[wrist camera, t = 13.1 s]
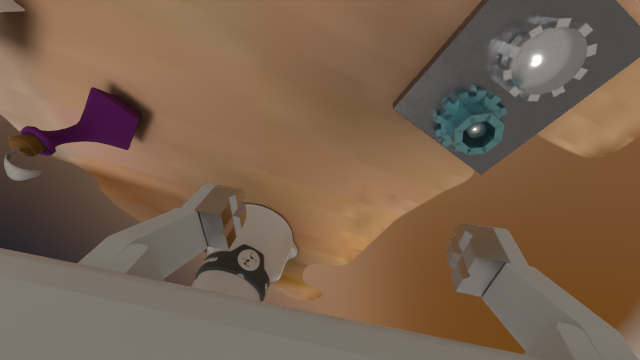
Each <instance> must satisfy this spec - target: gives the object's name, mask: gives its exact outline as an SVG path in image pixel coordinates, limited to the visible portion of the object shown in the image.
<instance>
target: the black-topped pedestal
mask: <svg viewBox="0 0 640 360" xmlns="http://www.w3.org/2000/svg"><path fill="white" fill-rule="evenodd" d="M18 11H25V9H23V8H22V7H21V6H20V5H18V4H17V3H16V2H14V1H13V0H0V12H18Z"/></svg>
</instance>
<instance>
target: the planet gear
mask: <svg viewBox="0 0 640 360" xmlns="http://www.w3.org/2000/svg"><path fill="white" fill-rule="evenodd" d="M486 92H487V91H486V90H485V89H484V88H482V87H474V90H473V92H472V93H467V91H466V90H465V89H464V88H463V89H461V90H458V91H456V94H457V95H456V96H455V97H454V98H453V99H452V100H451V101H450V100H449V99H448V98H447V97H446V98H445V99H444V100H443V101H442V102H441V104H442V106H443V107H444V108H443V109H442V110H441V111H440V112H435V115H434V121H435V123H439V125H436V126H433V128H434V131H435V134H436V136H437V137H439V136H441V138H440V141H441V144H443V145H444V146H445V147H446V148H447V147H448V146H449V145H450V144H452V147H453V149H454V150H455V151H460V152H463V153H465V154H466V155H472V154H484V153H487V152H488V151H489V150H491V149H492V148H493V147H495V146H496V145H497V144H498V143H500V142H501V141H502V136H503V131H504V125H505V123H504V122H503V121H502V120H501V119H500V116H503V115H506V114H507V111H506V107H505V106H504V105H503V104H501V103H500V104H497V103H498V102H499V101H501V99H500V98H499V97H498V96H497V95H496V94H494V93H493V92H492V91H491V92H490V93H489V94H488V95H487V96H486ZM473 122H482V123H483V124H484V125H485V127H486V131H485V133H484V134H483V135H482V136H480V137H478V138H472V137H470V136H469V135H468V133H467V132H466V130H465V129H466V128H468V127H469V126H470V125H471V124H472V123H473Z"/></svg>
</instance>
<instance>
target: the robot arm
mask: <svg viewBox="0 0 640 360" xmlns="http://www.w3.org/2000/svg"><path fill="white" fill-rule="evenodd" d="M244 198H245V196H244V191H243V190H242V189H237V188H232V187H226V186H220V185H213V184H208V183H206V184H203V185H202V186H201V187H200V188H199V189H198V190H197V191H196V192H195V193H194V194H193V196H192V197H191V198H190V199H189V200H188V201H187V202H186V203H185V204H184V205H183V206H182V207H181V208H175V209H173V210H170V211H168V212H166V213H163V214H161V215H158V216H156V217H154V218H151V219H149V220H146V221H144V222H142V223H140V224H137V225H134V226H132V227H130V228H127V229H125V230H122V231H120V232H118V233H115V234H113V235H110V236H108V237H107V238H106V239H105V240H104V241H102V242H101V243H100V244H99V245H98V246H97V247H96V248H95V249H93V250H92V251H91V252H90V253H89V254H88V255H86V256H85V257H84V258H83V259H82V260H81V261H80V262H79V263H77V264H75V263H70V262H66V261H61V260H56V259H51V258H46V257H41V256H36V255H31V254H26V253H21V252H16V251H11V250H6V249H2V248H0V360H638V358H637V357H636V355H635V354H634V353H633V351H632V350H631V348H630V347H629V346H628V344H627V343H626V342H625V340H624V339H623V338H622V336H621V334H620V333H619V332H618V331H617V330H615V329H614V328H613V327H611V326H610V325H609V324H608V323H606V322H605V321H604V320H602V319H601V318H600V317H598V316H597V315H596V314H594V313H593V312H592V311H590V310H589V309H588V308H587V307H585V306H584V305H583V304H581V303H580V302H579V301H577V300H576V299H575V298H573V297H572V296H571V295H570V294H568V293H567V292H566V291H564V290H563V289H562V288H560V287H559V286H558V285H556V284H555V283H554V282H553V281H551V280H550V279H548V278H547V277H546V276H544V275H543V274H542V273H541V272H539V271H538V270H537V269H535V268H534V267H529V266H528V264H527V262H526V260H525V259H524V257H523V255H522V254H521V252H520V250H519V248H518V246H517V245H516V243H515V241H514V239H513V238H512V236H511V234H510V232H509V231H508V230H506V229H503V228H495V227H486V226H479V225H472V224H465V223H459V224H458V225H457V226H456V229H455V233H456V236H455V237H453V238H451V239H450V241H449V244H448V246H447V260H448V264H449V265H450V266H451V267H452V268H453V269H454V271H453V273H452V274H451V276H452V280H453V283H454V287H455V290H456V292H461V293H466V294H470V295H475V296H480V297H482V299H483V300H484V301H485V303H486V304H487V305H488V307H489V308H490V309H491V310H492V311H493V312H494V314H495V315H496V316H497V317H498V319H499V320H500V321H501V322H502V323H503V325H504V326H505V327H506V328H507V329H508V331H509V332H510V333H511V334H512V335H513V337H514V338H515V339H516V340H517V341H518V342H519V344H520V345H521V346H522V347H523V349H524V350H525V351H526V352H525V353H524V354H518V353H513V352H508V351H503V350H498V349H493V348H488V347H483V346H479V345H474V344H469V343H464V342H459V341H454V340H449V339H444V338H439V337H434V336H429V335H424V334H419V333H414V332H409V331H404V330H400V329H395V328H390V327H385V326H380V325H374V324H370V323H365V322H360V321H355V320H350V319H345V318H340V317H336V316H330V315H325V314H321V313H316V312H310V311H306V310H301V309H296V308H292V307H287V306H281V305H277V304H272V303H267V302H263V300H264V298H265V296H266V294H267V290H268V287H269V284H271V283H274V282H275V281H276V280H279V278H280V277H281V274H282V272H283V269H284V267H285V265H286V262H287V261H288V260H290V259H291V258H293V257H295V256H296V255H297V253H298V249H297V247H296V245H295V244H294V242H293V237H292V231H291V229H290V227H289V225H288V224H287V222H286V221H285V220H284V219H283V218H282V217H281V216H280V215H278V214H277V213H275V212H274V211H272V210H270V209H268V208H265V207H262V206H259V205H253V204H244V203H243V202H242V201H243V200H244ZM206 249H207V257H206V259H205V260H204V262H203V263H202V264H201V266H200V267H199V269H198V272H197V274H196V276H195V281H194V283H193V284H192V286H191V287H188V286H184V285H179V284H174V283H169V282H165V281H164V278H165V277H166V276H168V275H169V274H171V273H172V272H173V271H175V270H177V269H178V268H179V267H181V266H182V265H184V264H185V263H187V262H188V261H190V260H191V259H192V258H194V257H195V256H197V255H198V254H200V253H201V252H203V251H204V250H206Z"/></svg>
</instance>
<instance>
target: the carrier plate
mask: <svg viewBox="0 0 640 360" xmlns="http://www.w3.org/2000/svg"><path fill="white" fill-rule="evenodd" d="M639 57H640V26H639V25H638V24H637V23H636V22H635V20H634V19H633V18H632V17H631V16H630V15H629V14H628V13H627V12H626V11H625V10H624V9H623V8H622V7H621V6H620V5H619V3H618V2H617V1H616V0H482V1H481V2H480V3H479V5H478V6H477V7H476V8H475V9H474V10H473V12H472V13H471V14H470V15H469V16H468V17H467V18H466V20H465V21H464V22H463V23H462V24H461V25H460V27H459V28H458V29H457V30H456V31H455V32H454V34H453V35H452V36H451V37H450V38H449V39H448V41H447V42H446V43H445V44H444V45H443V46H442V47H441V49H440V50H439V51H438V52H437V53H436V54H435V56H434V57H433V58H432V59H431V60H430V61H429V63H428V64H427V65H426V66H425V67H424V68H423V69H422V71H421V72H420V73H419V74H418V75H417V76H416V78H415V79H414V80H413V81H412V82H411V83H410V85H409V86H408V87H407V88H406V89H405V90H404V92H403V93H402V94H401V95H400V96H399V97H398V98H397V100H396V101H395V102H394V103H393V109H394V110H396V111H397V112H398V113H400V114H401V115H402V116H404V117H405V118H406V119H408V120H409V121H410V122H412V123H413V124H414V125H416V126H417V127H418V128H420V129H421V130H422V131H424V132H425V133H426V134H428V135H429V136H430V137H432V138H433V139H434V140H436V141H437V142H438V143H440V144H441V141H440V138H441V136H439V137H437V136H436V134H435V131H434V128H433V126H436V125H439V123H435V121H434V115H435V112H440V111H441V110H442V109H443V108H444V107H443V106H442V104H441V102H442V101H443V100H444V99H445V98H446V97H447V98H448V99H449V100H450V101H451V100H452V99H453V98H454V97H455V96H456V95H457V94H456V91H458V90H461V89H463V88H464V89H465V90H466V91H467V93H472V92H473V90H474V87H482V88H484V89H485V90H486V91H487V92H486V96H487V95H488V94H489V93H490V92H491V91H492V92H493V93H494V94H496V95H497V96H498V97H499V98H500V99H501V101H499V102H498V103H497V104H500V103H501V104H503V105H504V106H505V107H506V111H507V114H506V115H503V116H500V119H501V120H502V121H503V122H504V123H505V125H504V131H503V136H502V141H501V142H500V143H498V144H497V145H496V146H495V147H493V148H492V149H491V150H489V151H488V152H487V153H484V154H472V155H466V154H465V153H463V152H460V151H455V150H454V149H453V147H452V144H450V145H449V146H448V147H447V148H446V147H445V146H444V145H443V144H441V145H442V146H444V147H445V148H446V149H448V150H449V151H450V152H452V153H453V154H454V155H456V156H457V157H458V158H460V159H461V160H462V161H464V162H465V163H466V164H468V165H469V166H470V167H472V168H473V169H474V170H476V171H477V172H478V173H480V174H483V173H484V172H486V171H487V170H488V169H490V168H491V167H492V166H494V165H495V164H496V163H498V162H499V161H500V160H502V159H503V158H505V157H506V156H507V155H509V154H510V153H511V152H513V151H514V150H515V149H517V148H518V147H519V146H521V145H522V144H523V143H525V142H526V141H527V140H529V139H530V138H531V137H533V136H534V135H535V134H537V133H538V132H540V131H541V130H542V129H544V128H545V127H546V126H548V125H549V124H550V123H552V122H553V121H554V120H556V119H557V118H558V117H560V116H561V115H562V114H564V113H565V112H566V111H568V110H569V109H570V108H572V107H573V106H575V105H576V104H577V103H579V102H580V101H581V100H583V99H584V98H585V97H587V96H588V95H589V94H591V93H592V92H593V91H595V90H596V89H597V88H599V87H600V86H601V85H603V84H604V83H605V82H607V81H608V80H610V79H611V78H612V77H614V76H615V75H616V74H618V73H619V72H620V71H622V70H623V69H624V68H626V67H627V66H628V65H630V64H631V63H632V62H634V61H635V60H636V59H638V58H639ZM465 130H466V132H467V133H468V135H469V136H470V137H472V138H478V137H480V136H482V135H483V134H484V133H485V131H486V127H485V125H484V124H483V123H482V122H473V123H472V124H471V125H470V126H469V127H468V128H466V129H465Z"/></svg>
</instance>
